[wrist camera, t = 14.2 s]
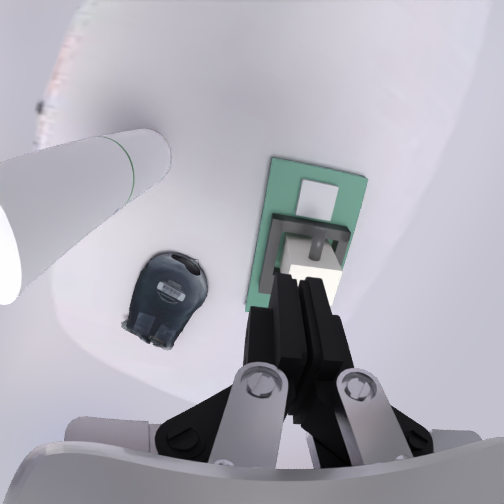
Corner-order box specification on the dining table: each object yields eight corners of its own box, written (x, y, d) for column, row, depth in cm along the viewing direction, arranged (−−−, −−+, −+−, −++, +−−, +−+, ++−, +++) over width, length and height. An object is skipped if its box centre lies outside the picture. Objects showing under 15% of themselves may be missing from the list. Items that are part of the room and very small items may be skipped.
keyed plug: (289, 207, 33) (297, 233, 26) (332, 213, 33) (350, 242, 26) (278, 269, 37) (281, 308, 29) (317, 274, 37) (329, 313, 30)
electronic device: (183, 335, 46) (221, 273, 38) (169, 359, 41) (206, 298, 34) (134, 305, 46) (160, 235, 38) (117, 326, 41) (138, 256, 33)
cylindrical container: (107, 153, 32) (-61, 229, 10) (148, 116, 30) (-32, 144, 8) (139, 197, 35) (-1, 321, 12) (183, 163, 33) (42, 265, 10)
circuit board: (272, 157, 32) (273, 161, 29) (364, 176, 33) (374, 183, 29) (245, 305, 41) (244, 320, 38) (322, 315, 41) (326, 330, 38)
